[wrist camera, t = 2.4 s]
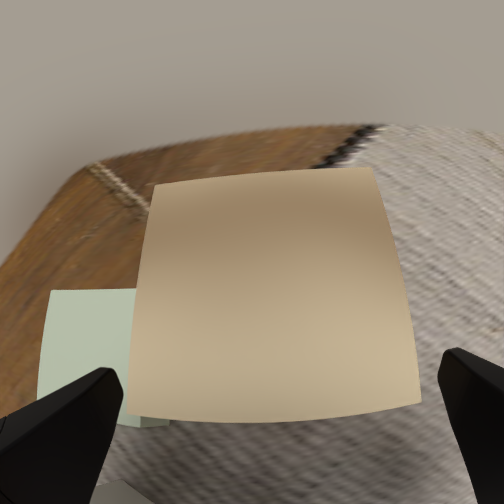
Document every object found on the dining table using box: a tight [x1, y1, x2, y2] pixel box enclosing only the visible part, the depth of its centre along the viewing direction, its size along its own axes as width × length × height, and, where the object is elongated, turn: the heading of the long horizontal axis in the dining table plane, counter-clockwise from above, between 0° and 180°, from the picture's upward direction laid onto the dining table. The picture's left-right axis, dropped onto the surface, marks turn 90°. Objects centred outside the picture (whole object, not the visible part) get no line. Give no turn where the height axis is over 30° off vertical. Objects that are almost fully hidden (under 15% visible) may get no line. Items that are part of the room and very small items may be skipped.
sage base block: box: [37, 289, 170, 428], centre depth 15 cm, size 7×7×4 cm
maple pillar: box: [127, 167, 421, 423], centre depth 11 cm, size 5×5×12 cm
